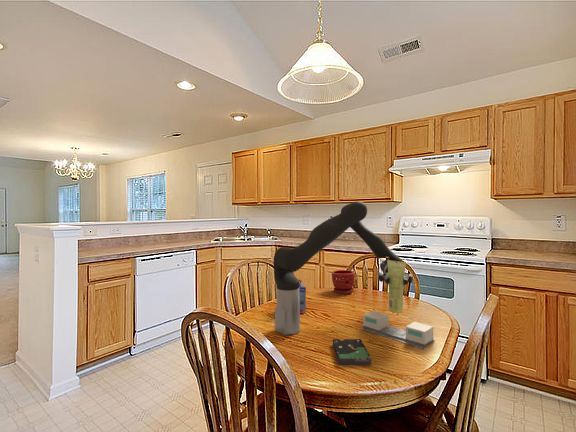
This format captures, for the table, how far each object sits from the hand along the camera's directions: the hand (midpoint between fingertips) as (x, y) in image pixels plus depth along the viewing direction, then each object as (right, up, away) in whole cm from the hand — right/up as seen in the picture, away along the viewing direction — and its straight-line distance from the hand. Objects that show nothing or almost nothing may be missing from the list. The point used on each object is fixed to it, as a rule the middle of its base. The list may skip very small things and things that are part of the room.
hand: (396, 281), depth 119 cm
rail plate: (+1, -21, +3) cm, 21 cm away
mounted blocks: (+1, -20, +3) cm, 20 cm away
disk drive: (-20, -22, -13) cm, 33 cm away
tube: (+1, -12, +3) cm, 12 cm away
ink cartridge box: (-36, -21, +33) cm, 53 cm away
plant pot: (-9, -19, +65) cm, 68 cm away
